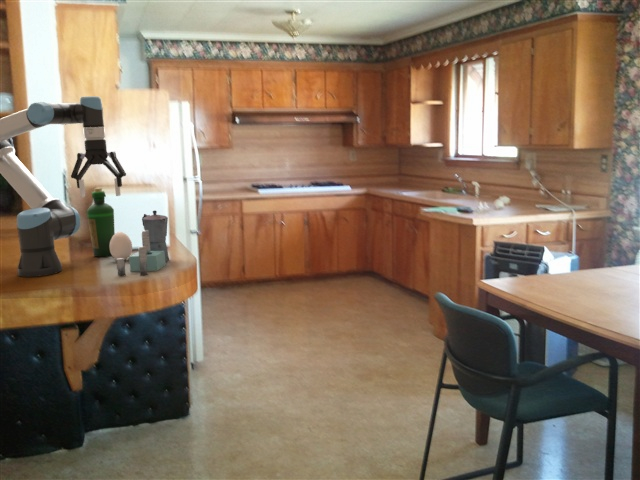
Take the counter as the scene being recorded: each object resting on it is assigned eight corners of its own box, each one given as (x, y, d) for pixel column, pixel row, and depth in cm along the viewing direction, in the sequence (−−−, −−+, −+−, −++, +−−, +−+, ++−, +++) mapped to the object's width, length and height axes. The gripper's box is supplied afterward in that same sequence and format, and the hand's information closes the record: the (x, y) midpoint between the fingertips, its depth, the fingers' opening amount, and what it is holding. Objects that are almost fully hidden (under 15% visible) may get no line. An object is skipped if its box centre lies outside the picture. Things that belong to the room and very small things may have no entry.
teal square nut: (130, 271, 235) (129, 256, 234) (139, 265, 245) (138, 251, 244) (157, 270, 235) (156, 255, 234) (165, 264, 244) (164, 250, 243)
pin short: (116, 276, 228) (115, 259, 227) (119, 274, 231) (118, 258, 230) (124, 276, 228) (122, 259, 227) (126, 274, 231) (125, 257, 230)
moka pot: (159, 265, 244) (155, 212, 241) (134, 261, 254) (129, 210, 250) (179, 260, 252) (175, 209, 248) (153, 257, 261) (149, 207, 258)
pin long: (145, 267, 241) (142, 230, 239) (152, 267, 241) (149, 230, 239) (143, 268, 239) (140, 231, 236) (150, 268, 238) (147, 231, 236)
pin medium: (138, 275, 228) (137, 247, 226) (141, 273, 230) (140, 246, 229) (145, 275, 227) (144, 247, 226) (148, 273, 230) (147, 246, 228)
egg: (106, 261, 256) (103, 233, 254) (124, 257, 263) (122, 229, 261) (119, 263, 251) (116, 234, 249) (138, 259, 257) (135, 231, 255)
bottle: (98, 252, 275) (92, 187, 270) (122, 252, 274) (116, 186, 269) (86, 257, 265) (79, 189, 260) (110, 257, 263) (104, 189, 259)
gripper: (57, 140, 236) (63, 198, 240) (124, 138, 234) (129, 196, 238) (66, 140, 243) (72, 196, 247) (131, 137, 242) (136, 194, 245)
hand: (100, 196), depth 242 cm, fingers open, 13 cm apart
